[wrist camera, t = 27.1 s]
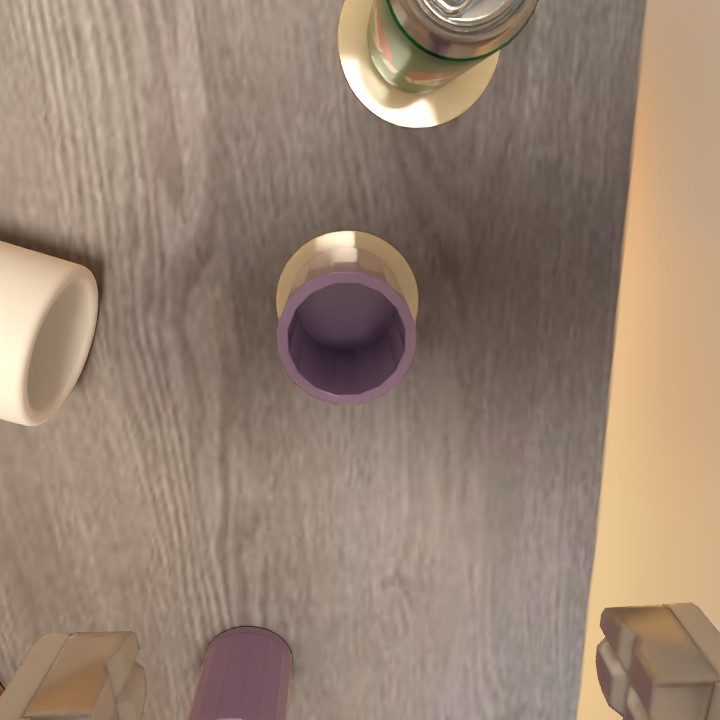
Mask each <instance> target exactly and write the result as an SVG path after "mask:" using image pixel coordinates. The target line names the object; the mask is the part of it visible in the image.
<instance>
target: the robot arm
mask: <svg viewBox="0 0 720 720" xmlns="http://www.w3.org/2000/svg"><path fill="white" fill-rule="evenodd" d="M600 627H601V629H602V631H603V633H604V635H605V638H604V639H603V640H602V641H601V642H600V644H598V645H597V653H596V668H597V674H598V680H599V683H600V686H601V689H602V692H603V694H604V696H605V698H606V701H607V703H608V705H609V706H610V707H611V708H612V709H614V710H615V711H616V712H618V713H619V714H620V715H621V716H622V717H623V720H720V633H719V632H718V630H717V629H716V628H715V627H714V626H713V624H712V623H711V622H710V621H709V620H708V618H707V617H706V616H705V614H704V613H703V612H702V611H701V609H700V608H699V607H698V606H696V605H695V604H693V603H678V604H677V603H676V604H663V605H648V606H647V605H646V606H631V607H630V606H629V607H612V608H605V609H604V611H603V612H602V614H601V620H600ZM139 649H140V647H139V643H138V639H137V636H136V633H134V632H131V631H122V632H78V633H65V634H44V635H43V636H42V637H40V638H39V639H38V640H37V641H36V642H35V643H34V645H33V647H32V648H31V650H30V651H29V653H28V654H27V656H26V657H25V659H24V661H23V662H22V664H21V665H20V667H19V668H18V670H17V672H16V673H15V675H14V676H13V678H12V679H11V681H10V682H9V684H8V686H7V687H6V689H5V690H4V692H3V693H2V695H1V697H0V720H141V718H142V715H143V711H144V705H145V699H146V677H145V671H144V668H143V667H142V666H141V665H139V664H138V663H137V662H136V661H135V659H136V656H137V654H138V651H139Z"/></svg>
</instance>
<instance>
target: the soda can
mask: <svg viewBox="0 0 720 720" xmlns="http://www.w3.org/2000/svg"><path fill="white" fill-rule="evenodd" d="M538 1H539V0H373V2H372V7H371V12H370V16H369V21H368V26H367V43H368V49H369V53H370V56H371V59H372V62H373V64H374V65H375V67H376V69H377V71H378V72H379V73H380V75H381V76H382V77H383V78H384V79H385V80H386V81H387V82H388V83H389V84H391V85H393V86H394V87H396V88H398V89H400V90H402V91H405V92H409V93H418V94H420V93H428V92H432V91H435V90H437V89H439V88H442V87H443V86H445V85H447V84H448V83H450V82H451V81H453V80H454V79H456V78H457V77H459V76H460V75H462V74H463V73H465V72H467V71H468V70H470V69H471V68H473V67H474V66H476V65H477V64H479V63H480V62H482V61H483V60H485V59H487V58H488V57H490V56H491V55H493V54H494V53H496V52H497V51H499V50H500V49H502V48H503V47H505V46H506V45H508V44H509V43H510V42H511V41H512V40H513V39H514V38H515V37H516V36H517V35H518V34H519V33H520V32H521V30H522V29H523V28H524V27H525V25H526V24H527V23H528V21H529V19H530V18H531V16H532V14H533V13H534V11H535V8H536V6H537V4H538Z"/></svg>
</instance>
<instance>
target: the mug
mask: <svg viewBox="0 0 720 720" xmlns="http://www.w3.org/2000/svg"><path fill="white" fill-rule="evenodd" d="M97 314H98V289H97V284H96V280H95V278H94V276H93V274H92V272H91V271H90V270H89V269H88V268H86V267H85V266H82V265H79V264H76V263H73V262H69V261H66V260H63V259H59V258H56V257H53V256H49V255H46V254H43V253H39V252H36V251H33V250H29V249H26V248H22V247H19V246H16V245H12V244H9V243H6V242H2V241H0V419H3V420H6V421H10V422H14V423H18V424H22V425H26V426H37V425H40V424H42V423H44V422H46V421H47V420H48V419H50V418H51V417H52V416H53V415H54V414H55V413H56V412H57V411H58V410H59V409H60V407H61V406H62V405H63V404H64V402H65V401H66V399H67V398H68V396H69V395H70V393H71V391H72V390H73V388H74V386H75V384H76V382H77V380H78V378H79V376H80V374H81V372H82V369H83V367H84V364H85V362H86V359H87V356H88V353H89V350H90V347H91V344H92V340H93V336H94V332H95V327H96V322H97Z"/></svg>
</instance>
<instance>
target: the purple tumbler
mask: <svg viewBox="0 0 720 720" xmlns="http://www.w3.org/2000/svg"><path fill="white" fill-rule="evenodd" d="M277 348H278V354H279V355H278V356H279V358H280V360H281V362H282V364H283V366H284V368H285V370H286V372H287V374H288V376H289V377H290V379H291V380H292V381H293V382H295V383H296V384H297V385H298V386H299V387H300V388H302V389H303V390H304V391H305V392H306V393H307V394H308V395H310V396H312V397H315V398H318V399H321V400H324V401H326V402H329V403H332V404H360V403H364V402H367V401H369V400H372V399H374V398H377V397H379V396H382V395H384V394H386V393H387V392H388V391H389V390H390V389H391V388H392V387H394V386H395V385H396V384H397V383H398V382H399V381H400V380H401V379H402V378H403V377H404V376H405V374H406V372H407V370H408V368H409V366H410V363H411V361H412V359H413V357H414V355H415V352H416V324H415V322H414V319H413V317H412V314H411V312H410V309H409V307H408V305H407V302H406V300H405V298H404V295H403V293H402V291H401V289H400V287H399V284H398V282H397V280H396V278H395V276H394V274H393V272H392V271H391V270H390V269H389V268H388V267H387V265H386V264H385V263H384V262H383V261H381V260H380V259H379V258H378V257H376V256H375V255H373V254H371V253H369V252H367V251H364V250H361V249H357V248H350V247H340V248H334V249H329V250H326V251H324V252H321V253H319V254H317V255H316V256H314V257H313V258H311V259H310V260H309V261H308V262H307V263H306V264H304V266H303V267H302V268H301V269H300V271H299V272H298V273H297V275H296V276H295V279H294V282H293V284H292V287H291V290H290V292H289V295H288V298H287V300H286V303H285V306H284V309H283V311H282V314H281V317H280V320H279V323H278V325H277Z"/></svg>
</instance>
